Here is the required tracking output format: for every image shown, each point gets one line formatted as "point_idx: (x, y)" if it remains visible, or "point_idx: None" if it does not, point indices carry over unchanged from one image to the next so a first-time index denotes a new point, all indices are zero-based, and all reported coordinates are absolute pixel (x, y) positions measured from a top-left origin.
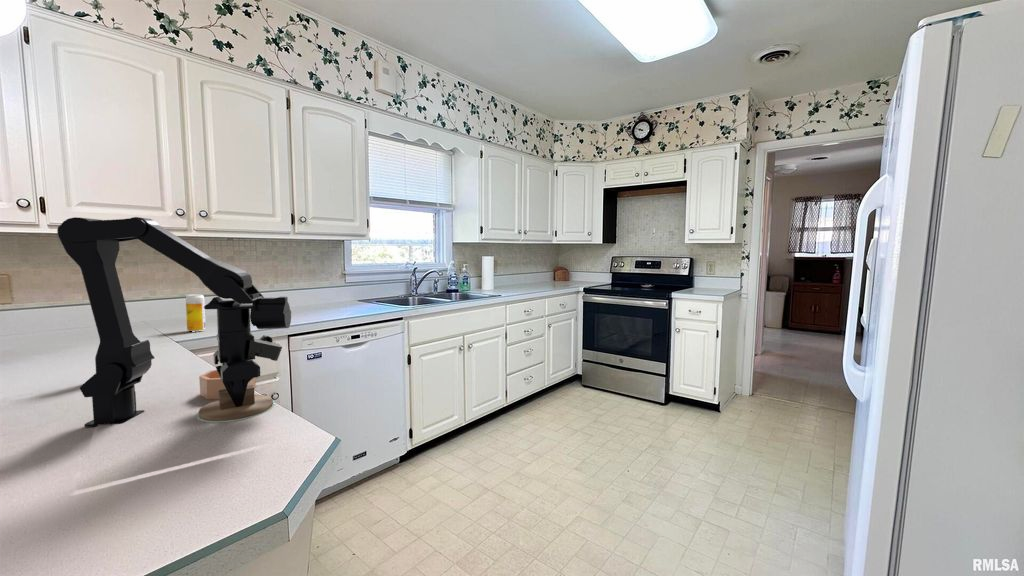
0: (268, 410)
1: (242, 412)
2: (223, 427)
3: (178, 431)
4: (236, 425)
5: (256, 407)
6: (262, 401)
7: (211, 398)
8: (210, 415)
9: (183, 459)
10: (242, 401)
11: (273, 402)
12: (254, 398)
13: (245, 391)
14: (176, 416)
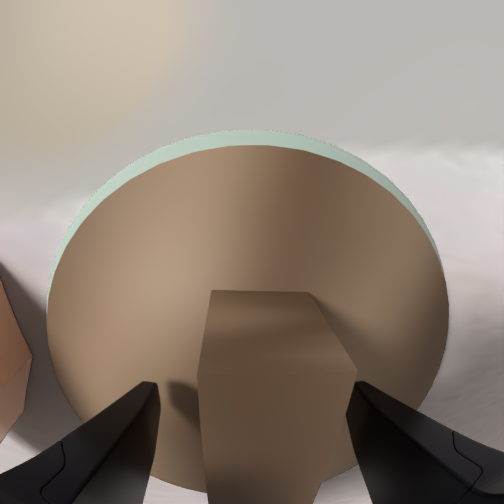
0: (423, 221)
1: (417, 367)
2: (423, 406)
3: (334, 496)
4: (445, 368)
5: (400, 294)
6: (294, 230)
7: (18, 409)
8: (334, 470)
9: (501, 437)
10: (388, 398)
11: (280, 143)
12: (317, 309)
13: (453, 431)
14: (165, 500)
